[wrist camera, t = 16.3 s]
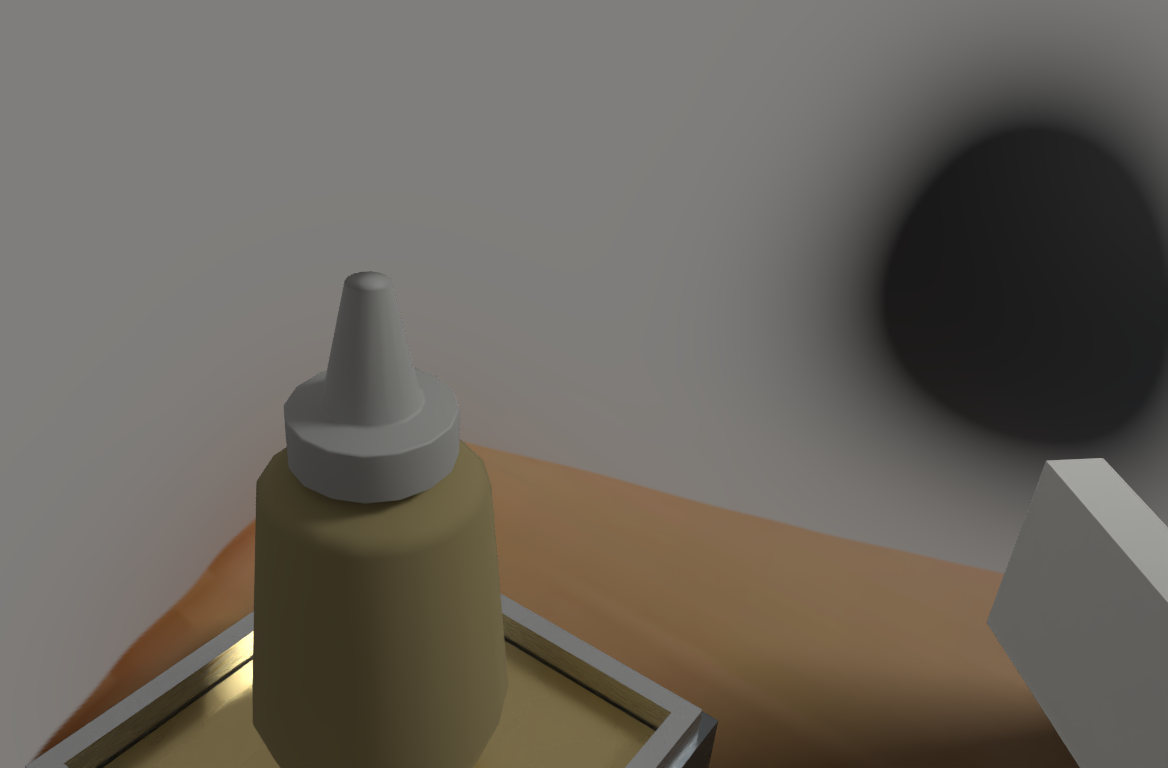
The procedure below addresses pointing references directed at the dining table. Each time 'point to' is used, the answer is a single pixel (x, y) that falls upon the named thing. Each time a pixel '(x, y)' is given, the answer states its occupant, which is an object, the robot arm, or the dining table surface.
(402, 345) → the squeeze bottle
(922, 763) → the dining table surface
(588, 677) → the square box
